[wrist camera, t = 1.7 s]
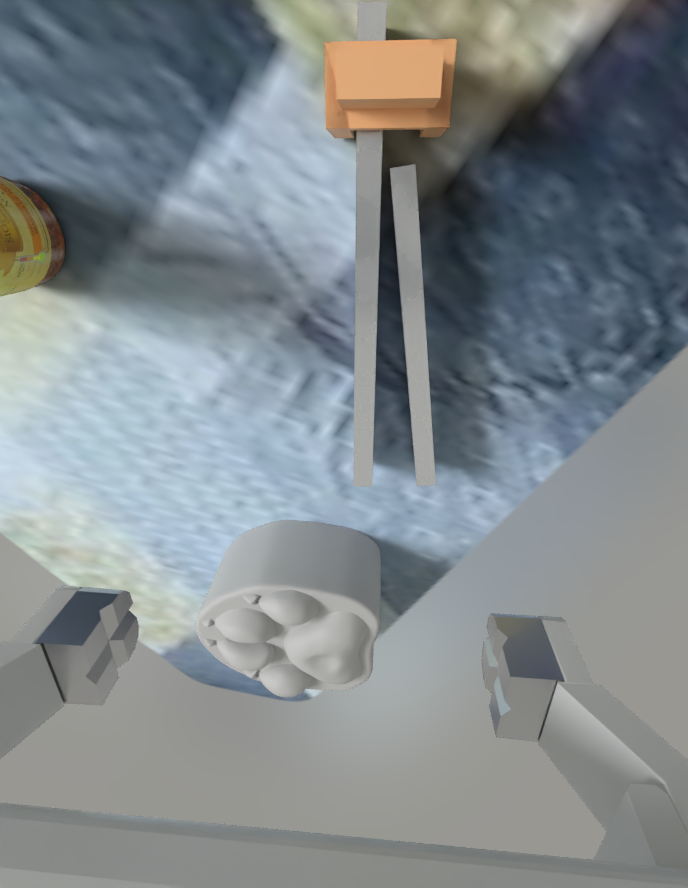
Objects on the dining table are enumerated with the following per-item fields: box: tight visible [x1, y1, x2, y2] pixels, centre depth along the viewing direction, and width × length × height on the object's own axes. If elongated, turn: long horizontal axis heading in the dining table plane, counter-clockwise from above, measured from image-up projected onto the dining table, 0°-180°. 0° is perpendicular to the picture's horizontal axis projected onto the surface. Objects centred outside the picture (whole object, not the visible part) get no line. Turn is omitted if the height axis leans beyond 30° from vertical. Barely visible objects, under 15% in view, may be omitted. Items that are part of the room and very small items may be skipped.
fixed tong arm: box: [354, 2, 386, 487], centre depth 27 cm, size 24×1×4 cm, turn 0°
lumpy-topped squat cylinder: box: [196, 520, 381, 697], centre depth 36 cm, size 10×13×9 cm
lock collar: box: [325, 39, 457, 138], centre depth 21 cm, size 3×5×7 cm, turn 90°
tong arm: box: [389, 164, 436, 486], centre depth 28 cm, size 18×1×4 cm, turn 8°
